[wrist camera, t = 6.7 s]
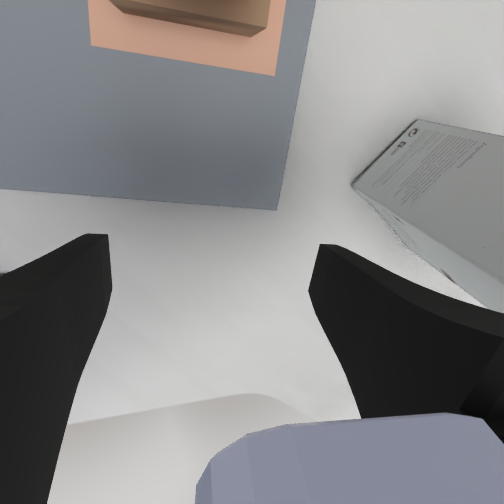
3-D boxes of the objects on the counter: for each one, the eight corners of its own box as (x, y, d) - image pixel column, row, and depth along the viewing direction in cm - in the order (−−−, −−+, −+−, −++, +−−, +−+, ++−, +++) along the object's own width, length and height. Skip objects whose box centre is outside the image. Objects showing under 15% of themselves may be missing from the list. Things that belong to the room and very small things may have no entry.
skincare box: (348, 184, 22) (570, 342, 9) (420, 112, 20) (814, 179, 7) (411, 252, 25) (635, 434, 13) (477, 195, 24) (809, 336, 11)
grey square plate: (2, 183, 18) (-7, 188, 18) (-103, -297, 11) (-126, -326, 10) (273, 206, 22) (276, 210, 21) (338, -151, 14) (347, -164, 13)
